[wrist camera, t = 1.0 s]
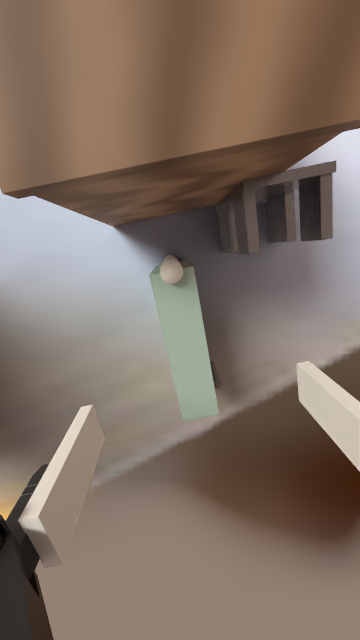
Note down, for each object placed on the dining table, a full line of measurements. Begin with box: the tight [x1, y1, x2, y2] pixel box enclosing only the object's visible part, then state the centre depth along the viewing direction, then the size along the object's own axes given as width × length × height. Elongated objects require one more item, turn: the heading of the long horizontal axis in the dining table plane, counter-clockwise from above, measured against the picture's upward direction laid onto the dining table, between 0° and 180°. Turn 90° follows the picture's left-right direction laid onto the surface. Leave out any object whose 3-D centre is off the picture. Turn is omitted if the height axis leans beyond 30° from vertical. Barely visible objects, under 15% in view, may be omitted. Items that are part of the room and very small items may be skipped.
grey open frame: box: [216, 161, 336, 254], centre depth 26 cm, size 8×6×12 cm
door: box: [150, 255, 221, 421], centre depth 29 cm, size 5×17×13 cm, turn 11°
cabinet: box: [0, 0, 360, 226], centre depth 19 cm, size 18×13×21 cm
